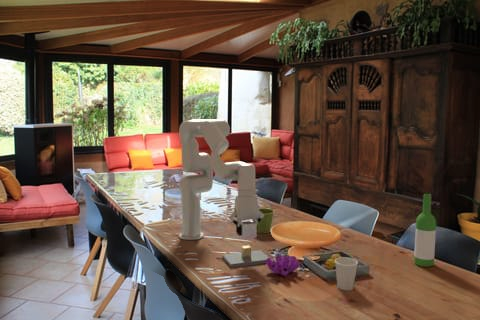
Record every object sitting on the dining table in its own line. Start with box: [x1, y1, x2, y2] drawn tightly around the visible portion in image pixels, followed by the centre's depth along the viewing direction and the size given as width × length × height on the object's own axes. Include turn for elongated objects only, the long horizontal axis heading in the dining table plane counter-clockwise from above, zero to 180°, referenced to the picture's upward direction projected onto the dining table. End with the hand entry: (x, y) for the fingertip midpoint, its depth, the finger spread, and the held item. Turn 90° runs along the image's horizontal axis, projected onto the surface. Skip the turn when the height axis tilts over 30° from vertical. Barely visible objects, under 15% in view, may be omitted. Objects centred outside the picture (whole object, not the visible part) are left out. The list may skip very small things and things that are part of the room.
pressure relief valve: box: [325, 254, 341, 270], centre depth 174 cm, size 6×12×10 cm
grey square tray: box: [302, 250, 371, 282], centre depth 176 cm, size 19×19×4 cm
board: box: [221, 244, 270, 268], centre depth 185 cm, size 12×18×6 cm, turn 109°
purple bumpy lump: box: [265, 254, 302, 277], centre depth 171 cm, size 11×15×10 cm
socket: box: [237, 219, 258, 240], centre depth 183 cm, size 6×6×6 cm
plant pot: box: [257, 207, 276, 234], centre depth 227 cm, size 12×12×11 cm
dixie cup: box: [335, 257, 358, 291], centre depth 157 cm, size 8×8×10 cm
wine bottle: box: [413, 193, 437, 268], centre depth 179 cm, size 8×8×30 cm
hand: (246, 233), depth 184 cm, fingers closed on socket, 6 cm apart
